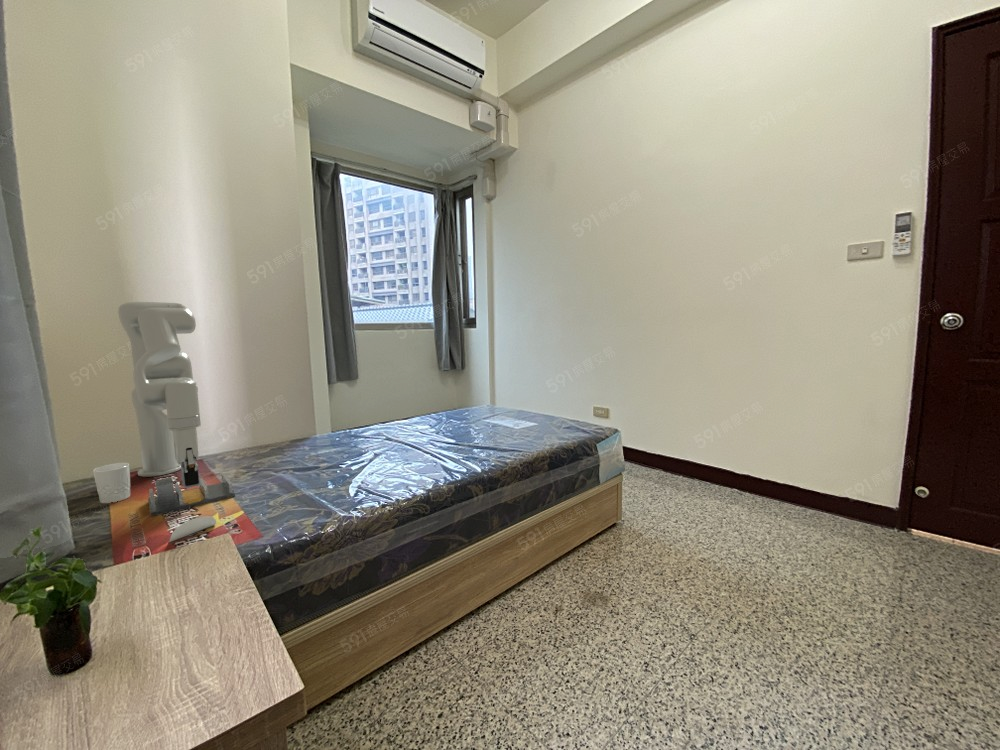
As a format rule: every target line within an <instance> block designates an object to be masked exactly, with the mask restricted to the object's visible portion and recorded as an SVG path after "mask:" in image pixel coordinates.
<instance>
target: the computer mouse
mask: <svg viewBox="0 0 1000 750" xmlns="http://www.w3.org/2000/svg"><path fill="white" fill-rule="evenodd" d="M216 524H217V519H216V518H215V517H213V516H210V515H207V516H206V515H205V516H199V517H196V518H192V519H190V520H188V521H186V522H183V523H181V524H177V525H175V526H173V527H171V528H169V529H167V531H170V530H172V529H174V530H173V531H172V533H171V535H170V538H169V541H168V544H169V543H172V542H174V541H177V540H179V539H183V538H185V537H187V536H189V535H192V534H194V533H197V532H200V531H203V530H206V529H207V528H210V527H213V526H215V525H216Z"/></svg>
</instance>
